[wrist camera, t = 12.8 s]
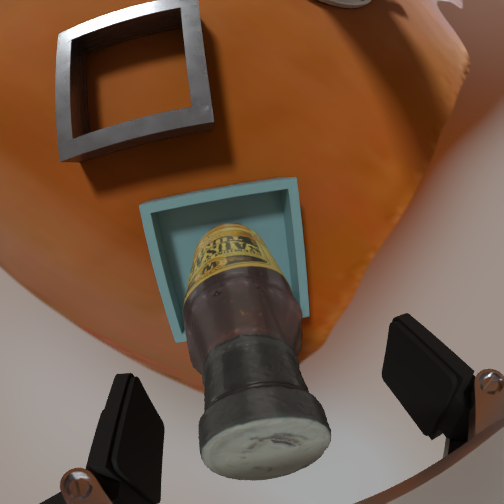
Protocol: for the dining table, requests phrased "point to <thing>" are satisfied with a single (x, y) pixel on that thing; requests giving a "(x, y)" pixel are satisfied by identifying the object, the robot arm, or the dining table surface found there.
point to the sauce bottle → (249, 360)
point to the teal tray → (213, 214)
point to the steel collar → (112, 32)
